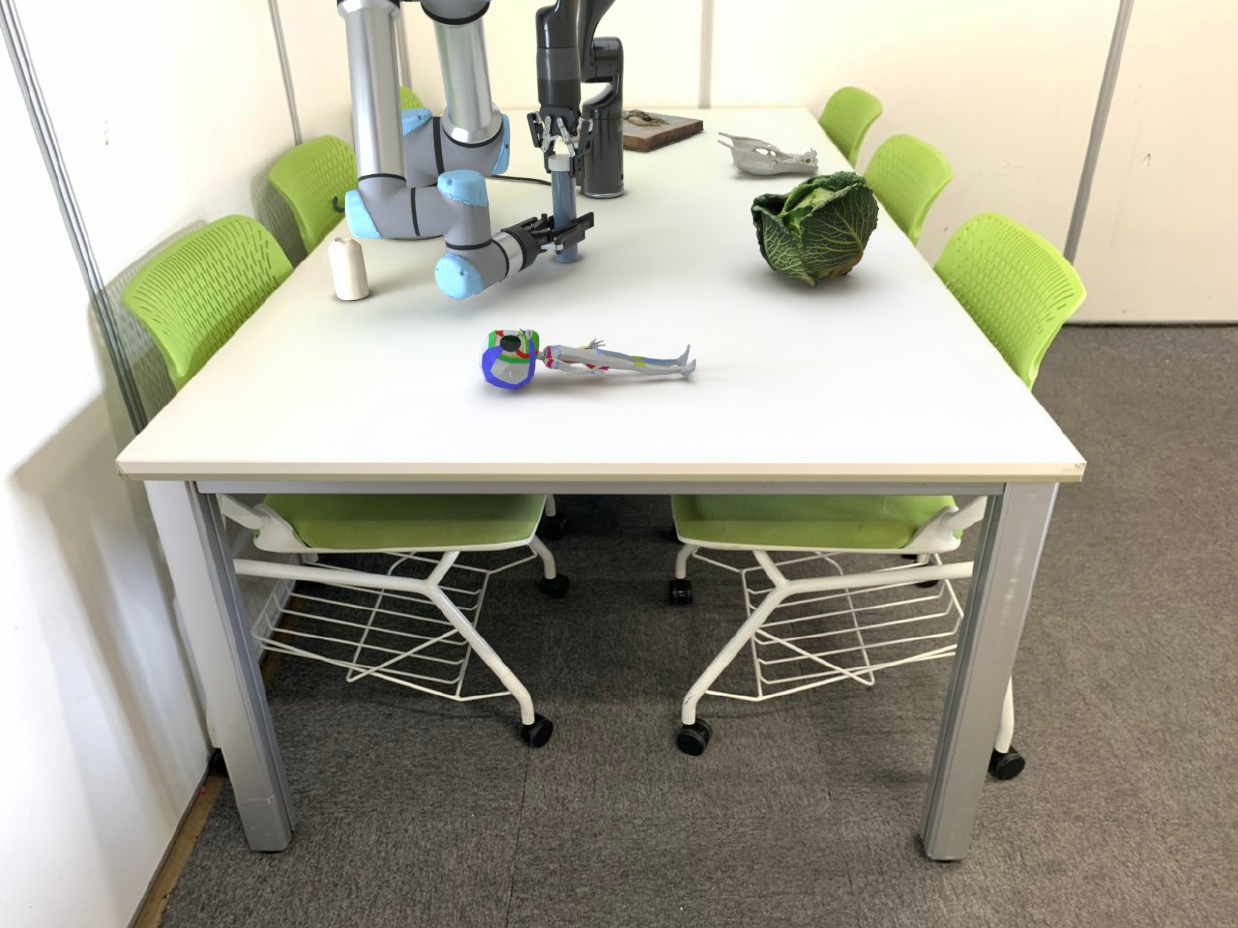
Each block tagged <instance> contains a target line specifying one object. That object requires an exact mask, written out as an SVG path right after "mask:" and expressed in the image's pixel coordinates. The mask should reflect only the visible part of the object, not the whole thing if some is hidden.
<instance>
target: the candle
mask: <svg viewBox="0 0 1238 928" xmlns="http://www.w3.org/2000/svg"><path fill="white" fill-rule="evenodd" d="M362 247H363V246H362V244H361V243H359V241H357V240H355V239H353V238H348V237H340V236H338V237H336V238H334V239H333V241H332V242H331V243H330V245H329V247H327V250H328V256H329V261H330V265H331V272H332V276H333V282H334V287H335V291H336V297H337V298H338V299H340V300H342V301H343V300H344V301H354V300H361V299H363V298H366V297H368V296H369V294H370V287H369V281H368V275H367V269H366V265H365V258H364V252H363V248H362Z"/></svg>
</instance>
